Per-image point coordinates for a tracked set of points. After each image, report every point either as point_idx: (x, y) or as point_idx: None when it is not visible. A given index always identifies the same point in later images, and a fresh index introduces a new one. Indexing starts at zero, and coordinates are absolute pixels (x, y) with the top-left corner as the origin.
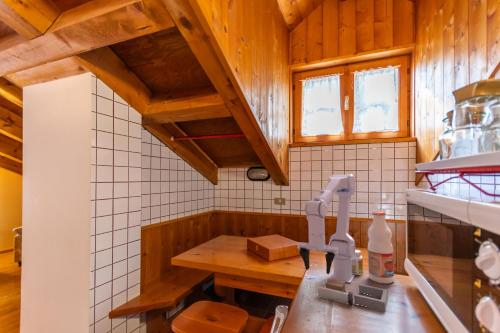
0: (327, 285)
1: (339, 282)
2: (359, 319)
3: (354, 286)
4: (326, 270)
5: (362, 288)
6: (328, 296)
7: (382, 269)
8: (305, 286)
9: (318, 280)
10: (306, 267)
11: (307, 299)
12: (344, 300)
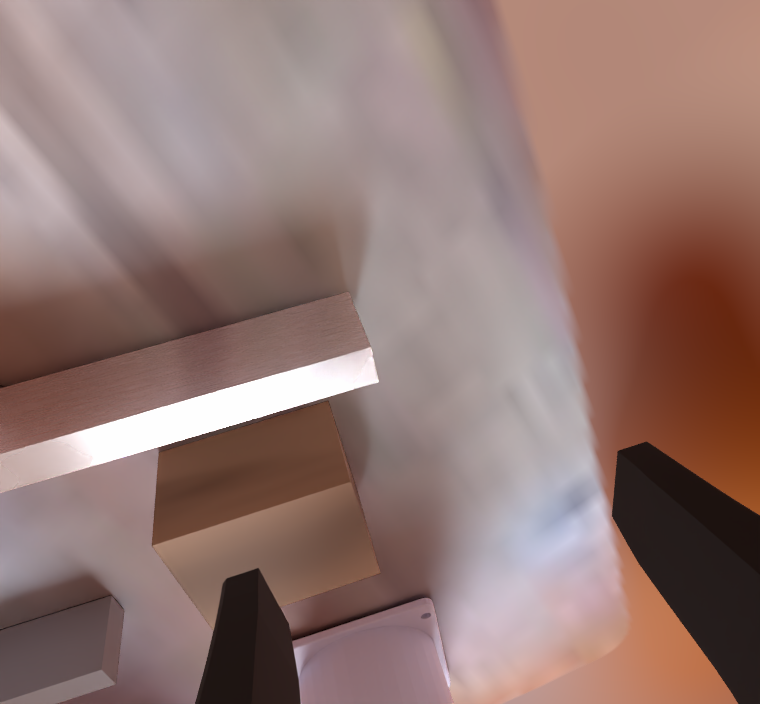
0: (323, 472)
1: None
2: None
3: None
4: (255, 628)
5: (73, 654)
6: (224, 340)
7: None
8: (555, 372)
9: (501, 522)
10: (665, 475)
11: (413, 155)
12: (30, 393)
